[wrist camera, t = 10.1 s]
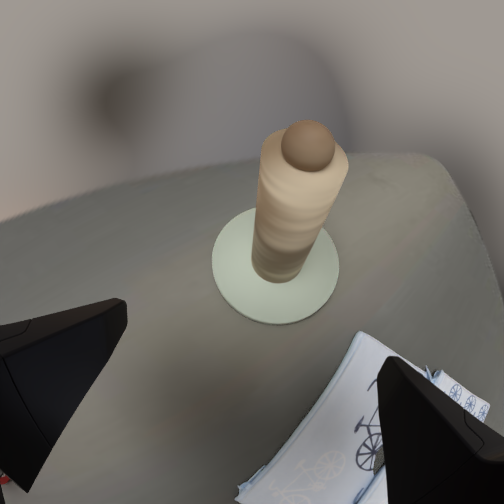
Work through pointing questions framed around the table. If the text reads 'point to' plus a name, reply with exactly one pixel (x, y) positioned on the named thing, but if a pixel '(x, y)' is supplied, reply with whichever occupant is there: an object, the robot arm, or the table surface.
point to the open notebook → (342, 437)
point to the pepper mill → (294, 197)
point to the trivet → (266, 293)
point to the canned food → (4, 479)
